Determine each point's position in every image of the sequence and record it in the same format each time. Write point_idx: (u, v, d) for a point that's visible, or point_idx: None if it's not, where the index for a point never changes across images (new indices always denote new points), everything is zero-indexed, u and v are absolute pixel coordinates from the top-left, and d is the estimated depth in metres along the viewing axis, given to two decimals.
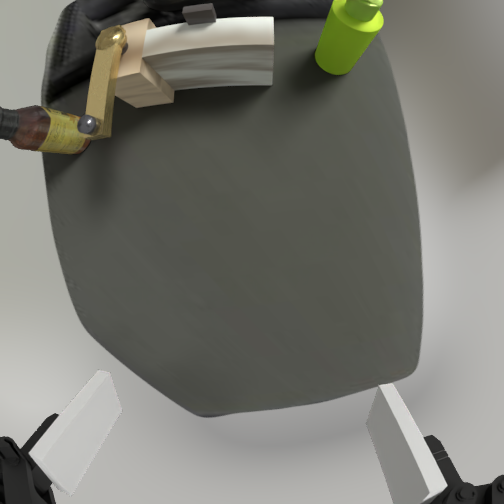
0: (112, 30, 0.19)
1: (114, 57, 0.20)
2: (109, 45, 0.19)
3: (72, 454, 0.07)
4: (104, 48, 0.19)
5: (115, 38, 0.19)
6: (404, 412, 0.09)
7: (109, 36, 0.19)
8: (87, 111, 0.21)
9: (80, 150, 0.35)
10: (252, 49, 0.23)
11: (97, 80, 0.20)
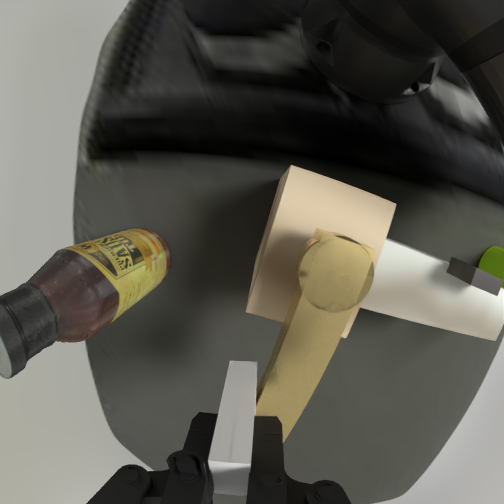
0: (354, 257, 0.11)
1: (336, 339, 0.12)
2: (337, 303, 0.11)
3: None
4: (323, 306, 0.11)
5: (356, 291, 0.11)
6: (250, 387, 0.11)
7: (343, 274, 0.11)
8: None
9: None
10: None
11: (289, 379, 0.12)
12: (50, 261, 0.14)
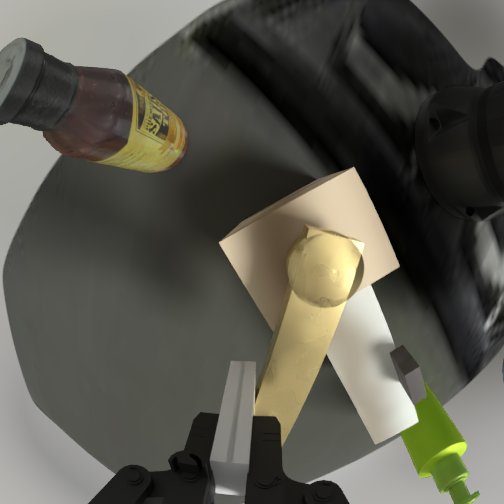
0: (342, 251, 0.11)
1: (330, 334, 0.12)
2: (328, 298, 0.11)
3: None
4: (314, 302, 0.11)
5: (346, 286, 0.11)
6: (249, 387, 0.11)
7: (332, 269, 0.11)
8: None
9: None
10: None
11: (285, 376, 0.12)
12: (103, 69, 0.11)
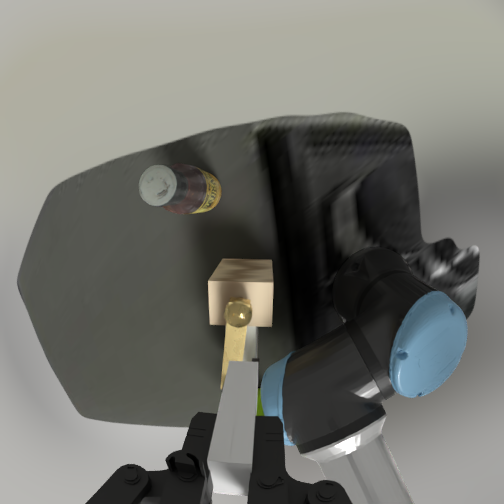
0: (242, 308, 0.31)
1: (245, 336, 0.32)
2: (240, 324, 0.32)
3: None
4: (235, 325, 0.32)
5: (246, 319, 0.32)
6: (251, 387, 0.11)
7: (239, 314, 0.31)
8: (223, 373, 0.33)
9: None
10: None
11: (231, 353, 0.33)
12: (198, 179, 0.30)
